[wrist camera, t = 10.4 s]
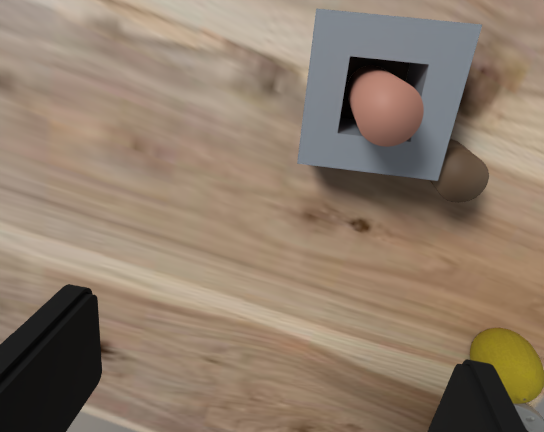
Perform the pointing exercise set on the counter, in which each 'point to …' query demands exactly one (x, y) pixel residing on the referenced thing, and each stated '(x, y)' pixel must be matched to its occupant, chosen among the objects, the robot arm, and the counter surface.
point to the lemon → (511, 362)
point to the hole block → (421, 75)
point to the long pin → (384, 106)
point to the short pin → (461, 174)
